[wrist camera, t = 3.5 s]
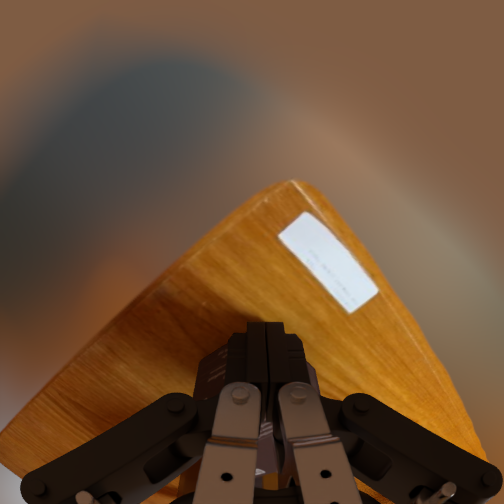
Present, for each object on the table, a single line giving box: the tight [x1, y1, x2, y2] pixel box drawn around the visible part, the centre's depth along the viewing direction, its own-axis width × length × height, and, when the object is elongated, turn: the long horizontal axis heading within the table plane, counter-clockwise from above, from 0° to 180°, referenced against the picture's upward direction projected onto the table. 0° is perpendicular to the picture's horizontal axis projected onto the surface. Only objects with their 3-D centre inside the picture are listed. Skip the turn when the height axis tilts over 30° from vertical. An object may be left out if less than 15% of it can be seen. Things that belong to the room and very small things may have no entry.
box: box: [193, 322, 320, 478], centre depth 17 cm, size 6×6×7 cm
